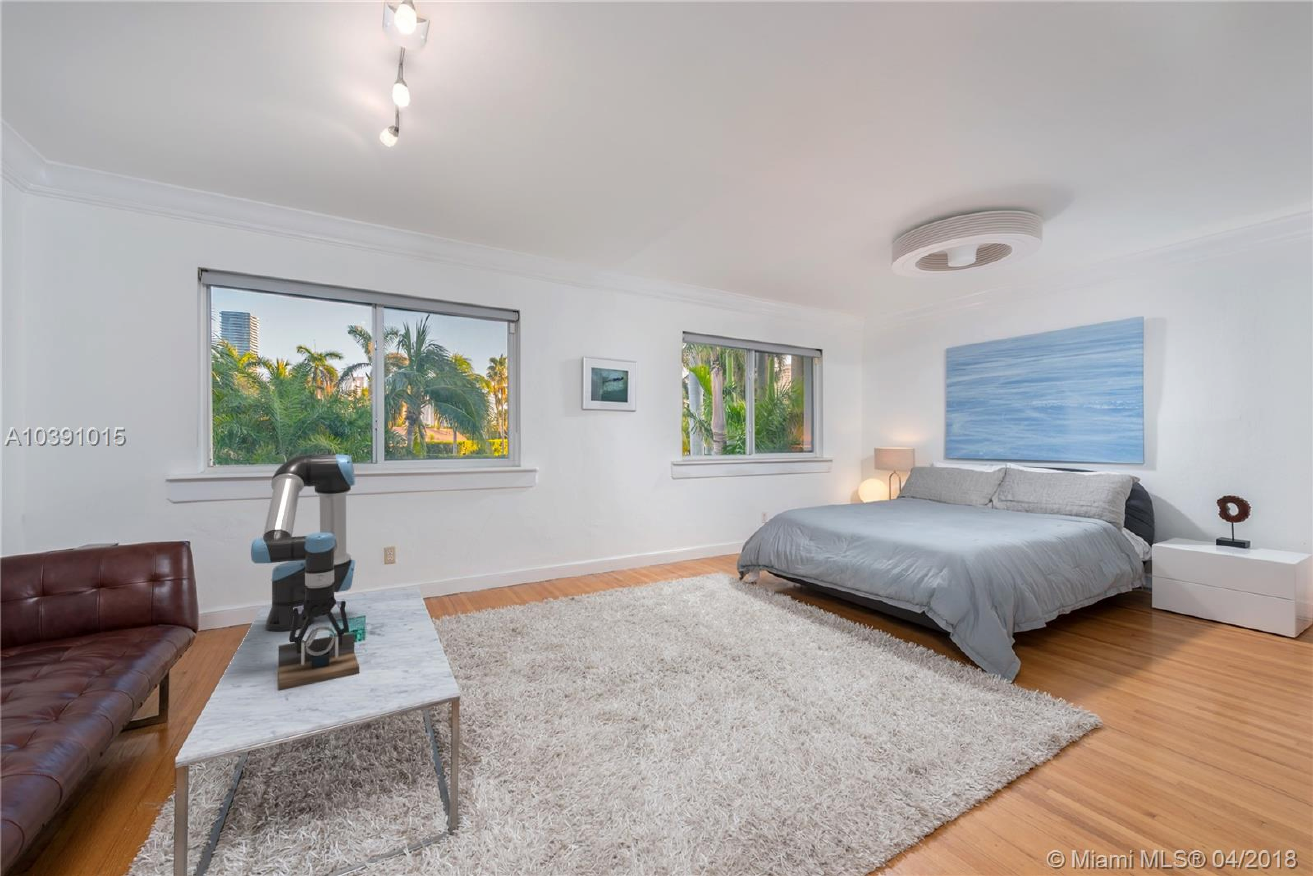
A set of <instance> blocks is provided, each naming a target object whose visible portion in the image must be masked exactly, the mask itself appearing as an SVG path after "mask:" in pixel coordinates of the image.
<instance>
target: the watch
mask: <svg viewBox="0 0 1313 876" xmlns="http://www.w3.org/2000/svg"><path fill="white" fill-rule="evenodd" d="M319 631H328V632H329V633H331V636H332V640H331V642H330V644H329V646H328V647H327V649H326V650H322V651H316V652H313V651H310V649H309V648H308V647H309V646H310V645H311V643H312V642H313V640H314V639H316V636H317V635H318V632H319ZM335 634H336V633H335V631H334V630H333V629H332V628H330V627H328V626H319V627H316V628H313V629H311V631H310V633H309V634H308V635H307V638H306V639H305V640H304V641H305V644H304V646H306V651H307V652H308V653H310V654H311V655H312V669H315V668H320V667H325V666H329V661H330V652H329V650H330V649H331V647H332V646H333V644H334V641H335Z"/></svg>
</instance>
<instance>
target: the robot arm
mask: <svg viewBox="0 0 1313 876" xmlns="http://www.w3.org/2000/svg"><path fill="white" fill-rule="evenodd" d="M354 469H355V468H354V463H353V459H352V457H351V456H350V455H348V454H338V453H334V454H333V453H332V454H329V453H328V454H325V453H324V454H301V455H296V456H294V457H291V458H289V459H288V460H287V461H285V462H284V463H283V464H281V465H280V466H279V467H278V469H277V470H276V471H275V472H274V474H273V476H272V478H271V479H272V480H271V484H270V485H271V488H272V495H271V499H270V503H269V508H268V512H267V516H266V520H265V526H264V531H263V535H262V537H260V538H256V539H254V540H253V541H252V543H251V547H250V558H251V561H252V562H253V563H254V564H272V563H273V564H274V563H276V564H277V563H279V564H278V565H276V566H274V568H273V569H272V572H271V573H272V574H271V580H270V581H271V607H270V610H269V613H268V616H267V618H266V622H265V629H266V630H267V631H271V632H287V631H290V632H289V633H290V634H289V637H288V638H289V639H288V641H289V642H290V643H296V644H297V654H299V653H301V665H304V641H305V639H304V637H305V635H306V633H307V630H308V629H309V627H310V625H312V624H314V622H315V618H318V617H320V616H321V617H324V616H327V618H328V619H329V621H330V623H331V626H333V628H334V630H335V632H336V633H334V634H335V658H338V646H341V645H342V635H343V634H348V633H349V632H350V629H349V628H350V627H349V622H348V617H347V612H346V605H347V602H346V600H345V599H344V598H343V599H340V600H339V599H337V600H336V598H335V593H339V592H347V591H349V590H350V589H351V588H352V586H353V578H354V573H355V565H356V560H355V559H352V555H351V554H349V553H348V552H347V494H348V493H349V492H350V491H351V487H352V486H355V484H356V478H355V476H356V475H355V470H354ZM304 487H308V488H309V487H314V493H315V494H317V495H318V496H319V532H314V533H309V534H307V535H302V536H301V535H299V536H293V532H294V527H295V521H296V516H297V514H296V513H297V507H298V502H299V497H300V496H299V495H300V493H301V492H302V491H303V489H304ZM336 605H337V608H339V612H340V617H341V622H342V626H343V627H342V628H341V627H340V625H339V624H338V622H337V620H336V618H335V616H334V614H333V612H332V610H333V609H334V607H335V606H336ZM298 629H300V630H299V633H298V635H297V634H296V633H297V630H298ZM296 635H297V636H296Z"/></svg>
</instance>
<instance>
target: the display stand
mask: <svg viewBox="0 0 1313 876" xmlns="http://www.w3.org/2000/svg"><path fill="white" fill-rule="evenodd" d="M332 636H333V635H331V636H326V637H320V638H314V640H313V642H312V643H311V645H310V646H309V647H308V648H309V649H310V651H313V652H316V651H322V650H326V649H327V647H328V646H329V644H330V642H331V640H332ZM305 641H306V640H304V644H305ZM329 652H330V661H329V666H325V667H320V668H315V669H312V655H311V654H310V653H308V652H307V651H306V646H304V665H301V653H299V654H297V644H296V643H295V642H290V643H287V644H285V643H284V644H281V645H280V644H279V645H278V654H277V655H278V657H277V658H278V659H277V660H278V662H277V663H278V665H277V666H278V667H277V669H278V670H277V671H278V672H277V673H278V678H277V679H278V680H277V681H278V691H281V690H287V689H292V688H296V687H300V686H305V685H310V684H315V683H319V682H324V681H330V680H333V679H339V678H343V677H348V676H352V675H353V676H354V675H357V673H358V674H360V664H359V662H358V658H357V656H356V653H355V632H350V633H349V632H347V633H344V634H343V635H342V645H341V646H338V658H335V641H334V644H333V646H332V647H331V649H330V650H329Z"/></svg>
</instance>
